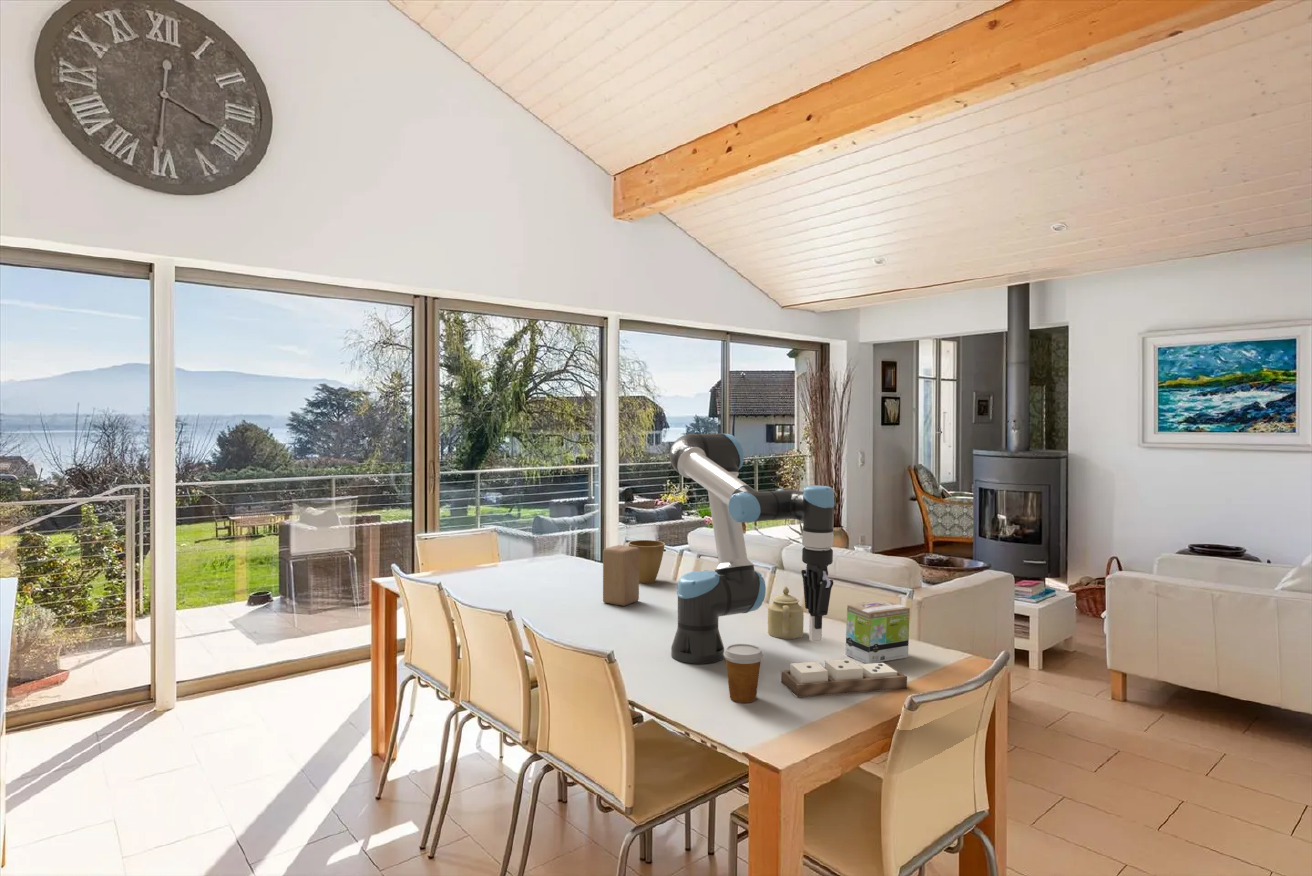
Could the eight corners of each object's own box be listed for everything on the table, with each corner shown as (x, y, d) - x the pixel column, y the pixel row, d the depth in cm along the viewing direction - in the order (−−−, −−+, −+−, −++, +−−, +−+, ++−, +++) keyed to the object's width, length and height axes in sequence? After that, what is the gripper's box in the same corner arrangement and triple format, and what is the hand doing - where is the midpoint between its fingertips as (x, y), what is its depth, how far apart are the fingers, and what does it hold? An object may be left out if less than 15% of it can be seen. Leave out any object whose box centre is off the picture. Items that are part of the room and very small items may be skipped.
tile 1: (801, 685, 183) (801, 672, 183) (790, 676, 190) (790, 662, 190) (827, 683, 185) (828, 670, 185) (815, 674, 192) (815, 661, 191)
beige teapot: (816, 641, 227) (816, 592, 226) (783, 644, 223) (783, 594, 223) (793, 627, 241) (793, 581, 240) (761, 630, 238) (762, 583, 237)
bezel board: (797, 697, 181) (797, 685, 181) (781, 682, 191) (781, 670, 191) (906, 688, 188) (907, 676, 187) (885, 674, 198) (885, 663, 198)
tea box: (869, 666, 204) (870, 612, 204) (844, 655, 213) (845, 604, 213) (909, 658, 211) (910, 606, 211) (883, 648, 220) (884, 598, 220)
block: (639, 601, 274) (640, 547, 273) (624, 607, 265) (624, 551, 265) (617, 597, 279) (618, 544, 278) (601, 603, 271) (602, 548, 270)
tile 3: (871, 686, 187) (872, 672, 187) (858, 676, 194) (858, 663, 194) (897, 684, 189) (897, 671, 189) (882, 674, 196) (883, 662, 196)
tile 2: (837, 683, 185) (837, 669, 185) (824, 673, 192) (824, 660, 192) (862, 681, 187) (863, 667, 187) (849, 671, 194) (849, 658, 193)
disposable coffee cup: (766, 705, 176) (767, 655, 176) (726, 706, 175) (727, 656, 175) (757, 690, 186) (758, 642, 185) (720, 691, 185) (720, 643, 184)
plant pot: (624, 584, 300) (625, 545, 299) (632, 577, 314) (632, 539, 314) (661, 586, 297) (661, 546, 297) (666, 578, 312) (667, 540, 312)
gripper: (844, 552, 182) (841, 647, 183) (819, 542, 194) (816, 631, 195) (815, 553, 180) (813, 649, 181) (792, 543, 192) (790, 633, 193)
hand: (815, 640), depth 188 cm, fingers closed
